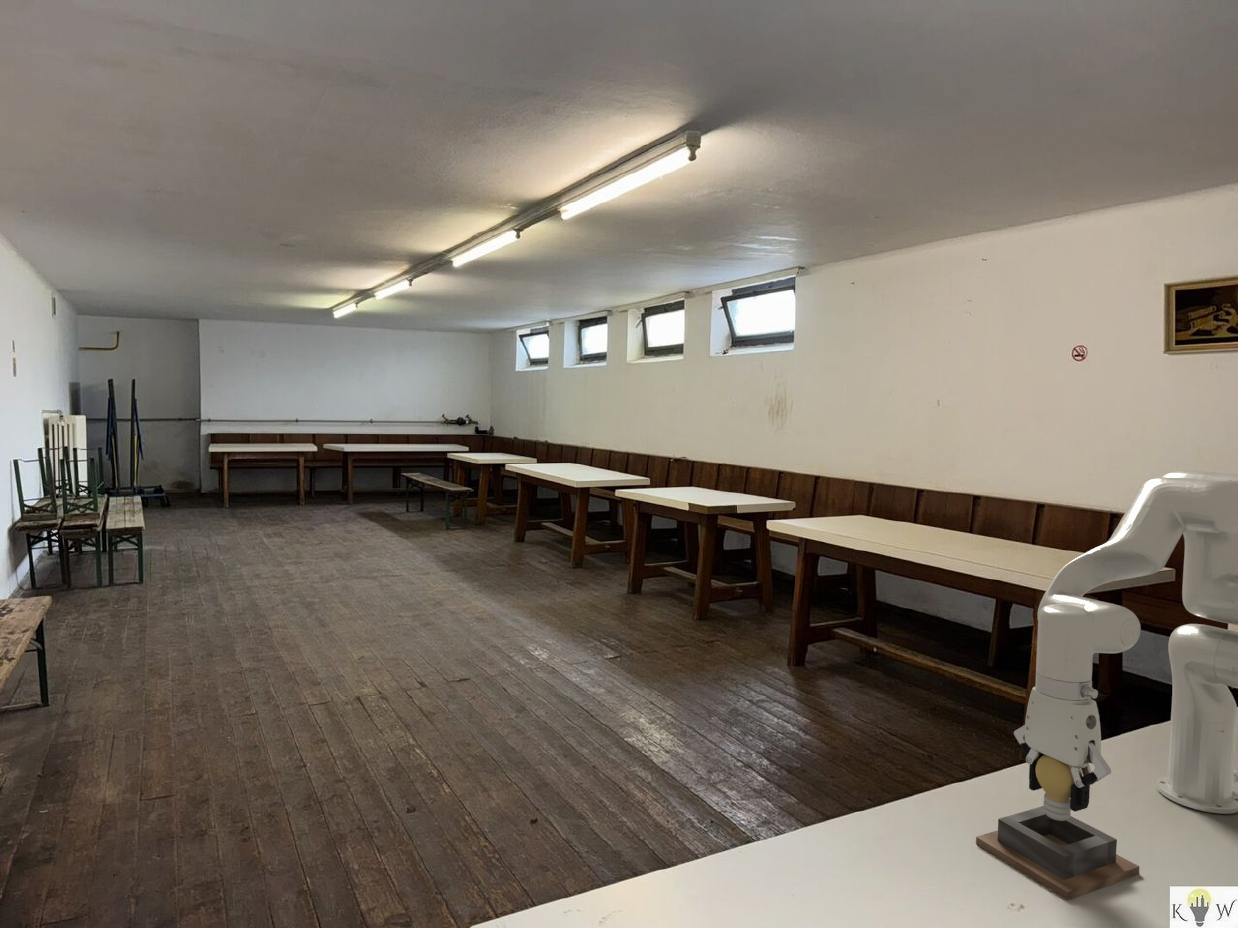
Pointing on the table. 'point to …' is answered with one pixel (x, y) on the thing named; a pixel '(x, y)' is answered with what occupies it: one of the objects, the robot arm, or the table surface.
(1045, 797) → the light bulb
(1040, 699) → the robot arm
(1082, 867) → the lamp socket
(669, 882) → the table surface
